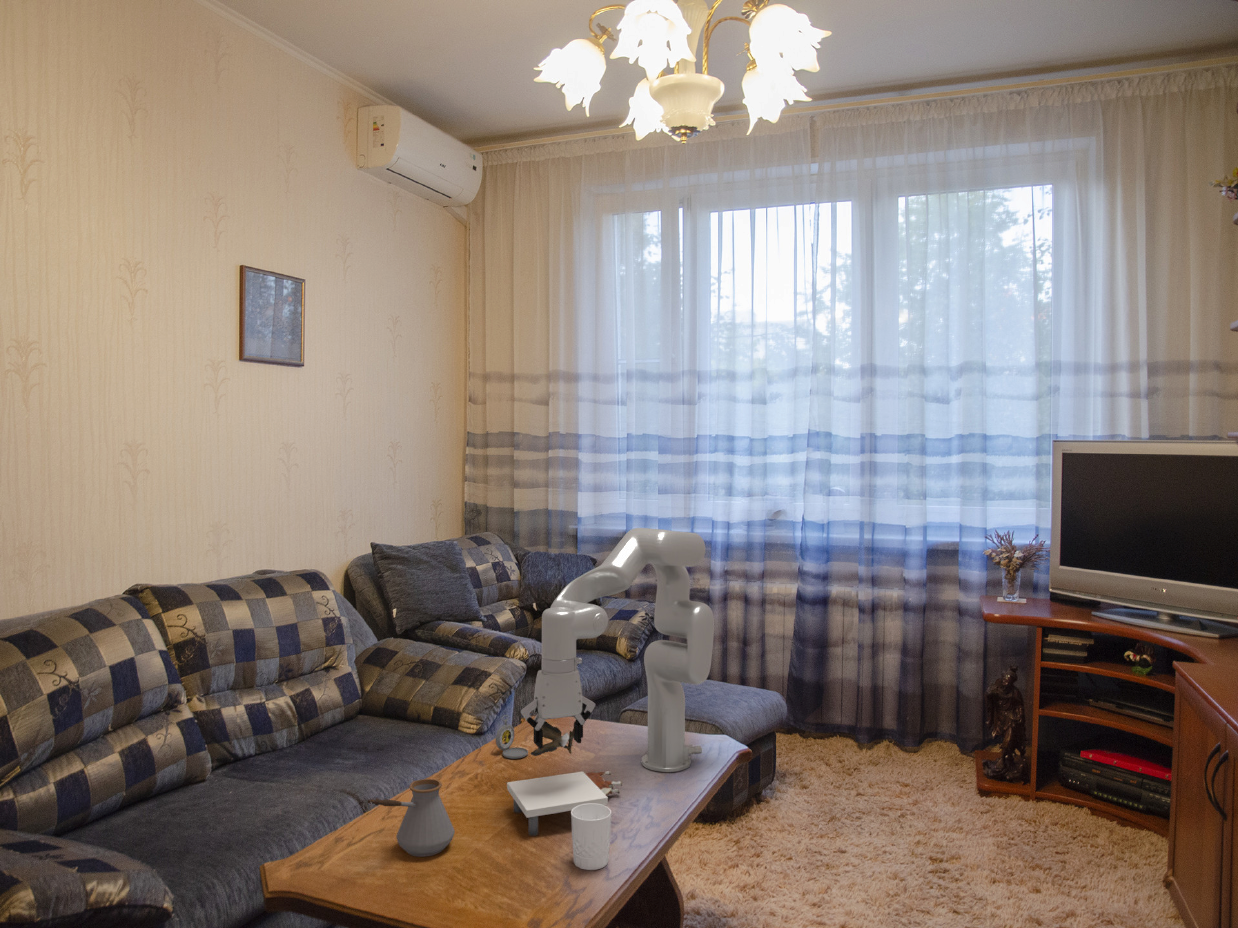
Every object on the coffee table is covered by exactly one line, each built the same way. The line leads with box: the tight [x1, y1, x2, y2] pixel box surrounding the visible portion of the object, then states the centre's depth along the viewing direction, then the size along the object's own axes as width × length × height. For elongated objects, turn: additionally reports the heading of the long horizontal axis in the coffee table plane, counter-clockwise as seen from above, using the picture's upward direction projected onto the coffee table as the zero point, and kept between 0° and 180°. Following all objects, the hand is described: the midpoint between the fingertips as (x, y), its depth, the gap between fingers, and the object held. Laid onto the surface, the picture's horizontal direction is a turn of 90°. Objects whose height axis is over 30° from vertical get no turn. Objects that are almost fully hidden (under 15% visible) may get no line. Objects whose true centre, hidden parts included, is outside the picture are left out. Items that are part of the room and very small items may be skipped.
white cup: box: [570, 803, 612, 871], centre depth 167 cm, size 8×8×10 cm
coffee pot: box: [362, 778, 455, 857], centre depth 169 cm, size 21×12×15 cm, turn 148°
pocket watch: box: [495, 714, 529, 760], centre depth 226 cm, size 8×8×10 cm
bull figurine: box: [585, 770, 623, 797], centre depth 200 cm, size 4×13×8 cm
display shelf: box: [506, 771, 609, 837], centre depth 188 cm, size 18×16×6 cm
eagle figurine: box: [530, 720, 575, 757], centre depth 187 cm, size 8×7×9 cm
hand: (558, 743), depth 188 cm, fingers closed on eagle figurine, 8 cm apart
